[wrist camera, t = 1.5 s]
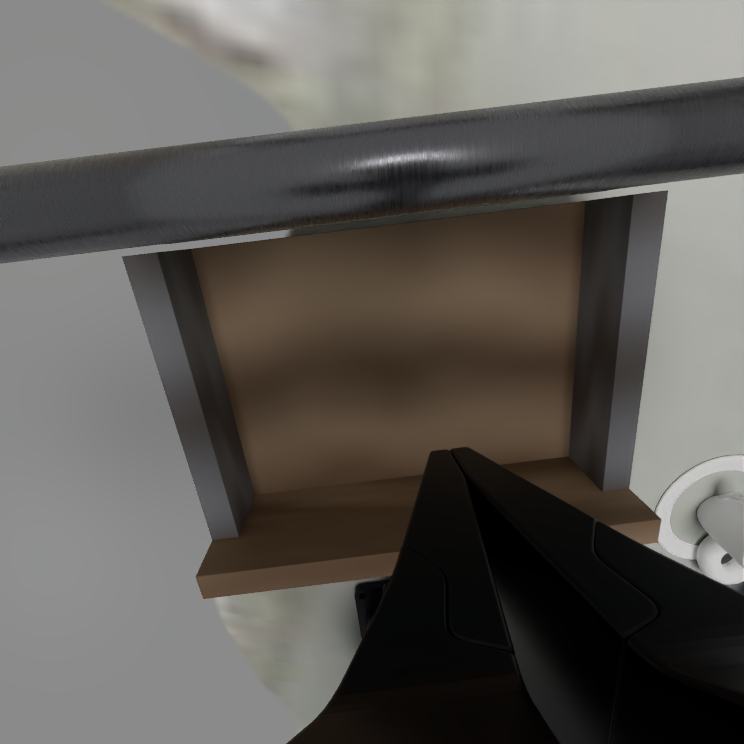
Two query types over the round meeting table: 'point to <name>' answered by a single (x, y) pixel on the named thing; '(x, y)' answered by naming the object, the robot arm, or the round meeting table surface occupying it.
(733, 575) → the teacup and saucer
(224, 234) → the panel
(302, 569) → the brown and grey drawer
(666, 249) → the round meeting table surface
